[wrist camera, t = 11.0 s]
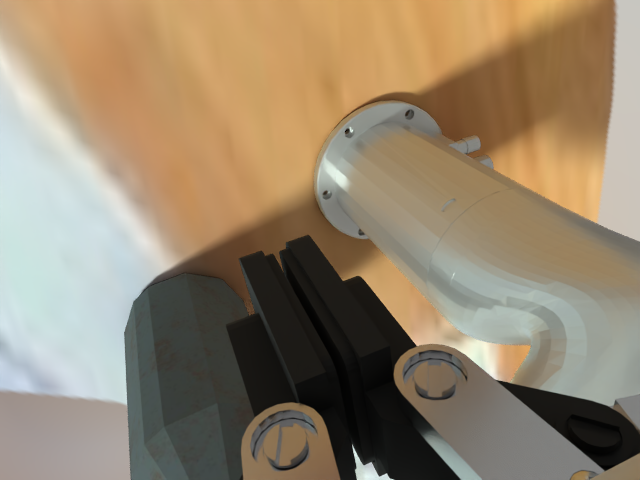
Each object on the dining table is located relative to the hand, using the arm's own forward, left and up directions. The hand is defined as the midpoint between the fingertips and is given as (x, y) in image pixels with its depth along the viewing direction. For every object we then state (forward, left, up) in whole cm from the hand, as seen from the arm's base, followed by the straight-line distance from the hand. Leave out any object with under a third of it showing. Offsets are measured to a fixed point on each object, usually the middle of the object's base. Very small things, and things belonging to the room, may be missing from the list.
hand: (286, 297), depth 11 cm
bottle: (+5, +20, -27) cm, 34 cm away
